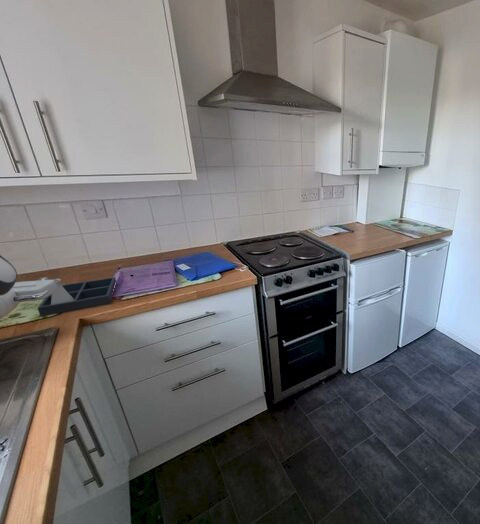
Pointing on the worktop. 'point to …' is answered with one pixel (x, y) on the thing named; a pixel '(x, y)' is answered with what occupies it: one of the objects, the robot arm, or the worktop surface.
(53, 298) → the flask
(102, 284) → the grid
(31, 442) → the worktop surface
